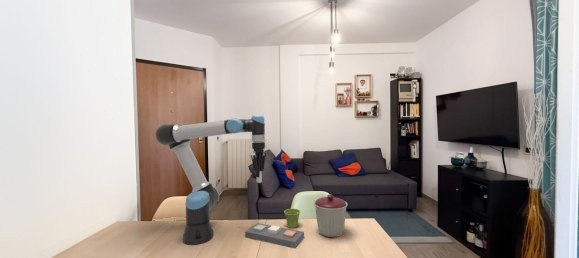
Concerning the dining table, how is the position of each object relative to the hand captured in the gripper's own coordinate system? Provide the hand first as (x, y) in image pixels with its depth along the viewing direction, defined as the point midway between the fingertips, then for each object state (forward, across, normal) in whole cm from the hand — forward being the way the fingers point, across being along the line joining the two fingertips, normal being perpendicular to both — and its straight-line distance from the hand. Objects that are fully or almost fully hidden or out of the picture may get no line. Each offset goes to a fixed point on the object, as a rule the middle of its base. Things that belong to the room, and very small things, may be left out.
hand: (259, 182), depth 139 cm
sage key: (+25, -8, -6) cm, 27 cm away
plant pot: (+26, +8, -17) cm, 32 cm away
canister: (+26, +9, -40) cm, 49 cm away
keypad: (+26, -8, -15) cm, 31 cm away
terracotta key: (+25, -8, -24) cm, 35 cm away
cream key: (+24, -8, -15) cm, 29 cm away
